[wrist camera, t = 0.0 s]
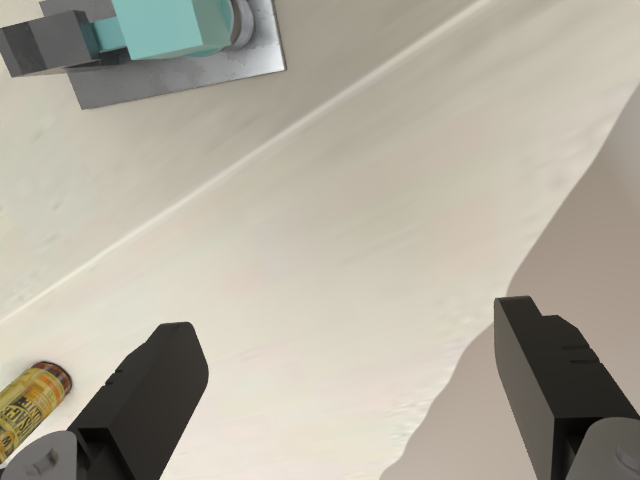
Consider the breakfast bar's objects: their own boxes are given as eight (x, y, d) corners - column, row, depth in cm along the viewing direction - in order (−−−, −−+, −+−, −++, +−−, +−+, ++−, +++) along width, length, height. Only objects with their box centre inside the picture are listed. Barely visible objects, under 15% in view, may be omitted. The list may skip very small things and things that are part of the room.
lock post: (47, 3, 36) (-63, -12, 27) (262, -53, 32) (217, -93, 23) (88, 108, 40) (3, 126, 31) (286, 69, 36) (255, 76, 27)
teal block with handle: (61, 4, 29) (-14, -6, 24) (222, -37, 27) (180, -60, 21) (90, 81, 31) (27, 88, 26) (242, 49, 29) (209, 49, 23)
